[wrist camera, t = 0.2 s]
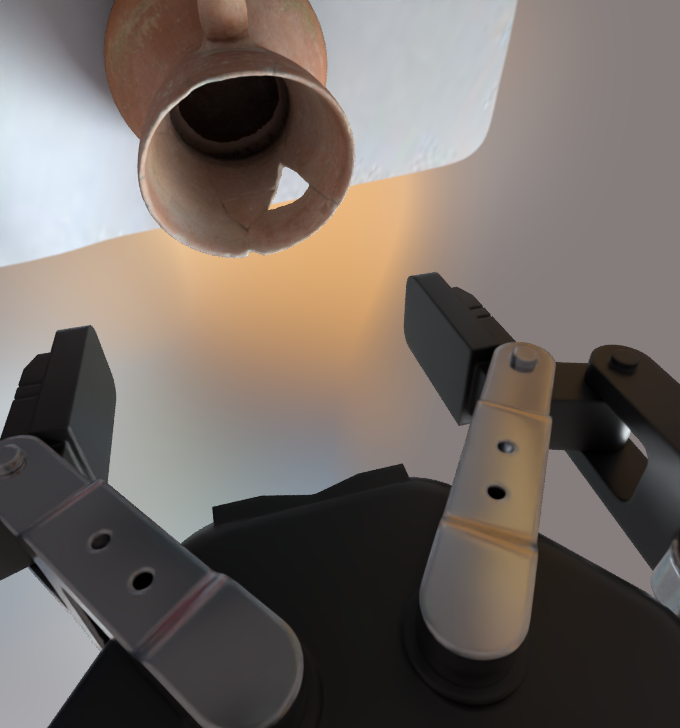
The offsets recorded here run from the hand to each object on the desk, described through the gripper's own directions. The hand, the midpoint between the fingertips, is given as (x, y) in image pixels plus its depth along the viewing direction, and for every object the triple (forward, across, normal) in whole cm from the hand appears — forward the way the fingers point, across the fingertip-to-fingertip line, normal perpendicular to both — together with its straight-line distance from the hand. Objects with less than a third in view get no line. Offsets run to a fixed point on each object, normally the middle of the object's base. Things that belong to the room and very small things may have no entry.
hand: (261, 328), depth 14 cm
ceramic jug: (+32, -2, -3) cm, 32 cm away
